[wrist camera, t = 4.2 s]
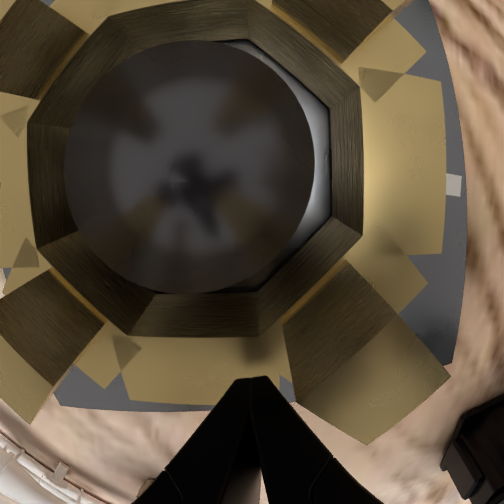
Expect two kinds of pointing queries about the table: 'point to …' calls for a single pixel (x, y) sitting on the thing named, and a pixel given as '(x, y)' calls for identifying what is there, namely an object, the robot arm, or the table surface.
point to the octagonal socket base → (287, 278)
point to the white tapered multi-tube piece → (36, 479)
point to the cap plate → (232, 183)
